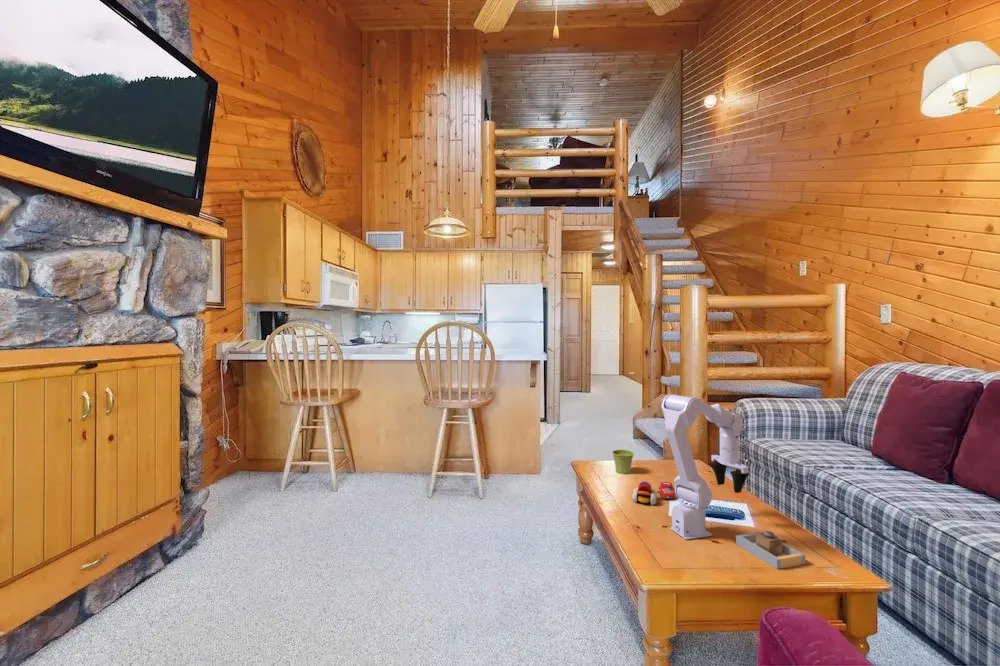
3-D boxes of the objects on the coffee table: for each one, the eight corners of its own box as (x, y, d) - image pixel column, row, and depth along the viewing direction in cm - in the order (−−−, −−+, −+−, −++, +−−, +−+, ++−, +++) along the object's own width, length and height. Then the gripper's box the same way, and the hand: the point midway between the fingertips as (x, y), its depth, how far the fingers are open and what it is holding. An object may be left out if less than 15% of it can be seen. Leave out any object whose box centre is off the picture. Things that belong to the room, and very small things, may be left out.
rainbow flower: (631, 504, 164) (631, 484, 164) (634, 495, 173) (634, 476, 173) (655, 508, 161) (655, 487, 161) (657, 498, 170) (657, 479, 170)
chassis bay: (776, 569, 120) (777, 559, 120) (735, 543, 134) (735, 535, 134) (805, 564, 123) (805, 555, 123) (761, 539, 137) (761, 531, 136)
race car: (675, 502, 167) (675, 491, 167) (659, 500, 168) (659, 490, 168) (673, 489, 179) (673, 479, 179) (658, 488, 181) (658, 478, 181)
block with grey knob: (769, 557, 126) (769, 537, 126) (756, 549, 130) (756, 530, 130) (782, 554, 127) (782, 535, 127) (768, 547, 131) (768, 528, 131)
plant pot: (631, 476, 194) (631, 456, 194) (609, 473, 198) (609, 453, 198) (636, 470, 202) (636, 451, 202) (615, 467, 207) (615, 448, 206)
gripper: (756, 452, 145) (756, 494, 145) (723, 441, 159) (723, 479, 159) (738, 454, 143) (738, 497, 143) (706, 443, 157) (706, 481, 157)
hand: (729, 488), depth 151 cm, fingers open, 7 cm apart
